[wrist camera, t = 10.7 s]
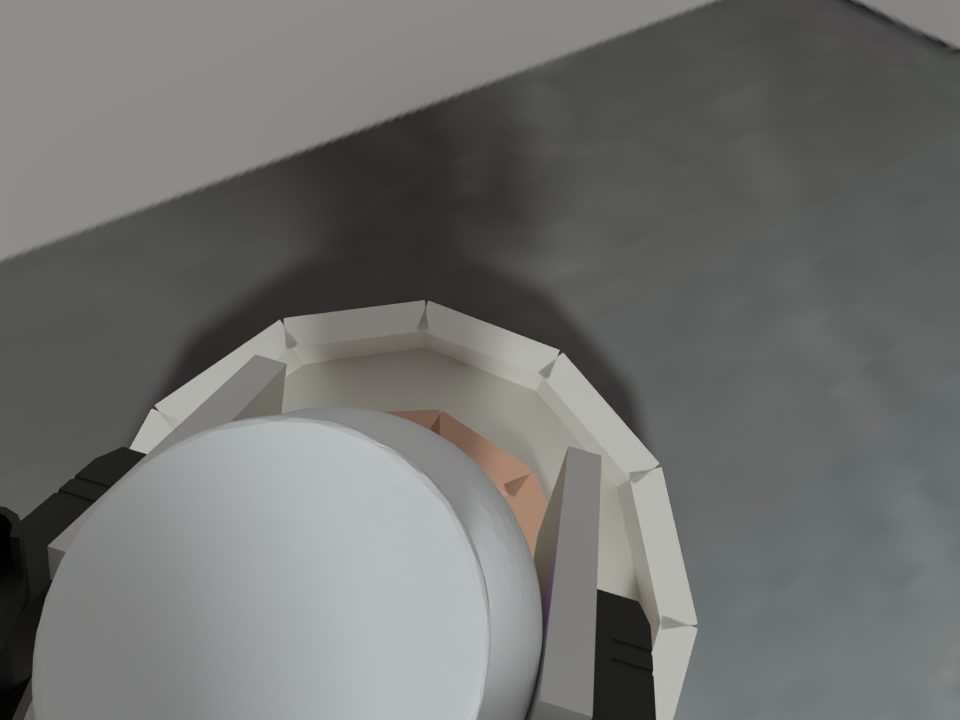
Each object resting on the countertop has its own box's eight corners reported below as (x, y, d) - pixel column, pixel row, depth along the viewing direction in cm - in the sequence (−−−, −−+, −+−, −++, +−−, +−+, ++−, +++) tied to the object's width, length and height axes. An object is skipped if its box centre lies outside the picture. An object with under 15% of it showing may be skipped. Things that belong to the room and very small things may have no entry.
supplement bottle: (548, 652, 19) (719, 778, 7) (329, 790, 18) (58, 1246, 6) (432, 442, 21) (401, 240, 8) (224, 556, 20) (-160, 512, 7)
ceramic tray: (11, 545, 26) (-45, 541, 23) (440, 245, 30) (439, 210, 27) (325, 1069, 21) (305, 1146, 18) (772, 632, 26) (812, 639, 23)
